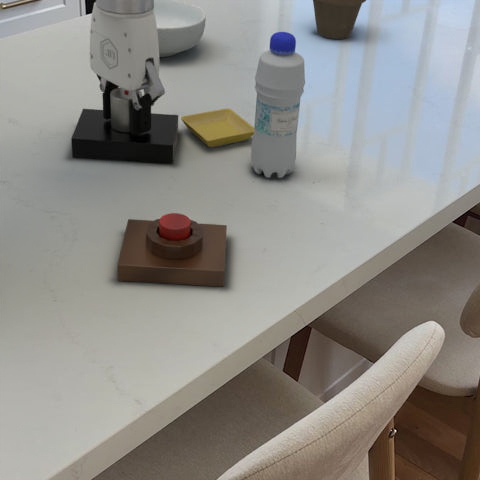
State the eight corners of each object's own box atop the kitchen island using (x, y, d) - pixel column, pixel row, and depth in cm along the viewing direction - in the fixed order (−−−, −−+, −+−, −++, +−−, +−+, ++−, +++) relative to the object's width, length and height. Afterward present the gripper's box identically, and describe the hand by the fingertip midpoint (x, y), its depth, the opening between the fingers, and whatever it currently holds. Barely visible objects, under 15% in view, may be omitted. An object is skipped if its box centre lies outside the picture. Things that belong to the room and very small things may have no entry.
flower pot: (323, 47, 168) (329, -6, 163) (293, 27, 176) (298, -24, 171) (373, 41, 174) (381, -11, 168) (342, 22, 181) (348, -28, 176)
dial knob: (141, 133, 125) (140, 98, 122) (109, 131, 125) (108, 96, 122) (143, 120, 129) (143, 85, 126) (112, 118, 128) (112, 84, 125)
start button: (157, 241, 101) (157, 228, 100) (160, 224, 104) (160, 212, 103) (189, 243, 102) (189, 230, 101) (191, 226, 105) (191, 213, 104)
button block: (117, 280, 101) (117, 251, 98) (128, 234, 109) (127, 206, 107) (223, 286, 101) (225, 257, 99) (225, 240, 110) (227, 212, 107)
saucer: (257, 143, 132) (258, 130, 131) (206, 153, 128) (207, 140, 127) (228, 120, 138) (229, 107, 137) (179, 129, 134) (179, 116, 133)
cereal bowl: (178, 74, 152) (179, 34, 148) (93, 54, 156) (92, 14, 152) (219, 44, 165) (221, 7, 161) (140, 27, 169) (140, -11, 165)
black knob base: (72, 157, 124) (71, 138, 122) (83, 127, 132) (82, 108, 130) (172, 164, 125) (173, 145, 123) (177, 133, 133) (178, 115, 131)
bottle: (263, 185, 122) (274, 44, 110) (239, 164, 126) (248, 27, 115) (304, 177, 125) (320, 39, 113) (280, 156, 129) (293, 22, 118)
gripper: (62, -15, 119) (69, 110, 129) (144, 22, 109) (144, 154, 120) (108, -24, 123) (111, 98, 134) (190, 11, 114) (186, 139, 124)
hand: (127, 123), depth 127 cm, fingers open, 5 cm apart
